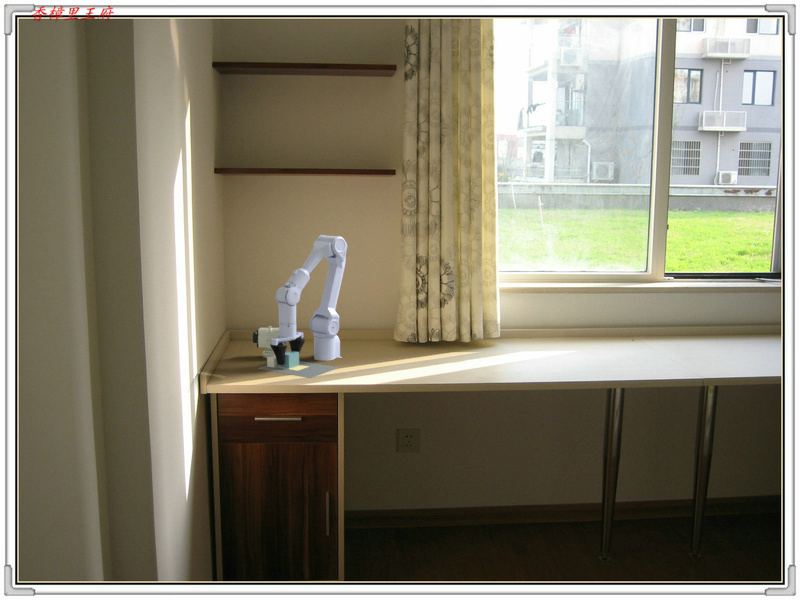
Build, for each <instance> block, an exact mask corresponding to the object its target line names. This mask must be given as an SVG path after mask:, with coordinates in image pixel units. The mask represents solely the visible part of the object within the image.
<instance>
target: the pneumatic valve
mask: <svg viewBox="0 0 800 600" xmlns="http://www.w3.org/2000/svg"><path fill="white" fill-rule="evenodd" d="M278 334H279V327H272V325H268V327H258V328H257V329H256V331H255V330H254V331H253V333H252V344H255V345H256V348H265V350H263V351H262V358H265V359H267V358H268V357H271V356H275V354H274V351H273V350H272V348H271V339H273V338H275V337H277V335H278ZM282 344H283V345H285V344H286V345H287V344H288V342H284V343H282Z"/></svg>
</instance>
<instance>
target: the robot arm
mask: <svg viewBox="0 0 800 600" xmlns="http://www.w3.org/2000/svg"><path fill="white" fill-rule="evenodd" d="M347 251H348V244H347V241H346V240H345V239H344V237H342V236H339V235H338V236H336V235H325V234H320V235H319V236H318V237H316V240H314V242H313V248H312V250H311V251H310V253H309V255H308V256H307V258H306V259H305V261H304V262H303V264H302V266H301V268H296V269H294V270H293V271H292V273H291V276H290V277H289V278H288V279H287V281H286V282H284V285H283V286H281V287H278V289H277V290H276V293H275V295H274V300H275V301H276V303H277V307H278V328H279V334H278V335H277V337H275V338H273V339H271V348H272V350H273V351H274V354H275V356H276V360H277V363H278V365H284V360H285V351H287V348H288V345H287V344H286V345H285V344H284V345H283V344H282V343H284V342H287V343H289V347H290V351H295V352H299V355H300V353H301V350H302V347H303V346H304V345H305V342H306V341H305V340H306V339H303V338H304V331H303V332H302V331H297V304H298V303H299V302H300V299H301V294H302V291H303V289H304V288H305V287H306V285H307V284H308V283H309V281H310V279H311V278H310V277H311V276H310V274H311V273H312V271H313V270H314V269H315V268H316V267H317V266H318V264H319V263H320V262H321V261H322V260H323V259H324V258H325V259H326V261H327V262H328V269H327V274H326V277H325V278H326V279H325V283H324V288H323V291H322V296H321V301H320V306H319V307H318V308H317V309H316V310H314V312H313V315H312V317H311V318H310V321H309V325H308V327H309V329H310V330H309V331H311V332H312V335H313V360H315V361H320V362H321V361H322V362H327V361H333V360H335V359H337V358H339V359H340V358H343V357H342V356H341V340H340V337H339V336H338V332H339V330H340V315H339V314H338V312H337V311H336V309H337V303H338V300H339V295H340V291H341V287H342V286H341V285H342V281H343V278H344V277H343V276H344V272H345V267H346V263H347V262H346V261H347V260H346V259H347V256H346V255H347Z"/></svg>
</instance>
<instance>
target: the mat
mask: <svg viewBox="0 0 800 600" xmlns="http://www.w3.org/2000/svg"><path fill="white" fill-rule="evenodd" d="M336 369H337V370H338V369H340V367H338V366H334V365H333V366H331V365H328V364H327V365H325V364H319V363H314V362H307V361H301V360H299V366H296V367H293V368H290V369H288V368H282V367H278V366H277V367H275V368H273V367H268V366H267V365H264V366H261V367H257V370H263V371H268V372H274V373H278V374H284V375H290V376H296V377H300V378H301V377H302V378H306V379H312V378H315V377H317V376H321V375H323V374H326V373H329V372H331V371H334V370H336Z"/></svg>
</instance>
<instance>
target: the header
mask: <svg viewBox="0 0 800 600" xmlns="http://www.w3.org/2000/svg"><path fill="white" fill-rule="evenodd" d="M266 360H267V361H266V363H267V365H266V366H268V367H273V368H275V367H277V366H278V363H277V360H276V356H271V357H268V358H266Z"/></svg>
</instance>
